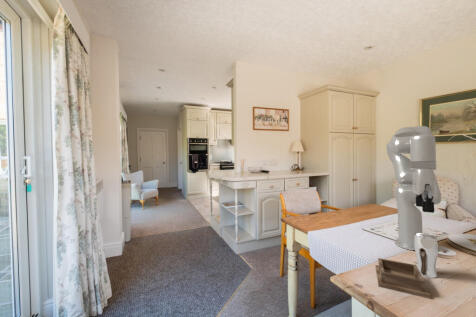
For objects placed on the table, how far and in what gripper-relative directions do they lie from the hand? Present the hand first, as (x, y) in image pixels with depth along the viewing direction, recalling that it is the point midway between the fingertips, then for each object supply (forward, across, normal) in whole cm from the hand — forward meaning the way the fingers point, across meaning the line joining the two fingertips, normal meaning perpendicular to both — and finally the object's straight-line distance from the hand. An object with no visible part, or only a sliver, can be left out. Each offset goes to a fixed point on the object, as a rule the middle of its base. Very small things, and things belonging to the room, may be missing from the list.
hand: (424, 209), depth 80 cm
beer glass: (+26, 0, 0) cm, 26 cm away
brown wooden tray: (+26, +11, -10) cm, 29 cm away
